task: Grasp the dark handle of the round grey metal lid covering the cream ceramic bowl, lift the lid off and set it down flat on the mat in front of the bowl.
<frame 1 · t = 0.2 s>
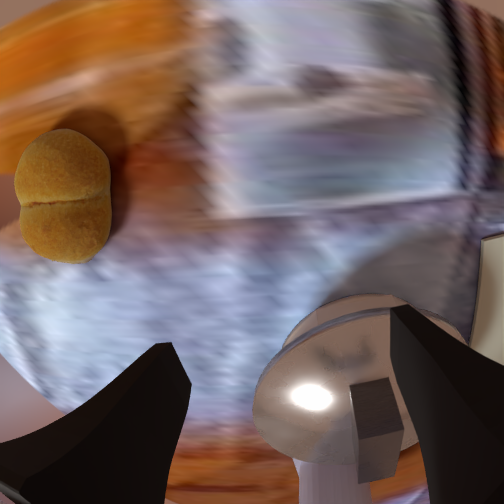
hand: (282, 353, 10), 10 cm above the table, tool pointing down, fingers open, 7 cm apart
bowl: (357, 361, 22), on the table
bread roll: (73, 194, 19), on the table
lid: (366, 400, 18), point 4 cm above the table, touching bowl
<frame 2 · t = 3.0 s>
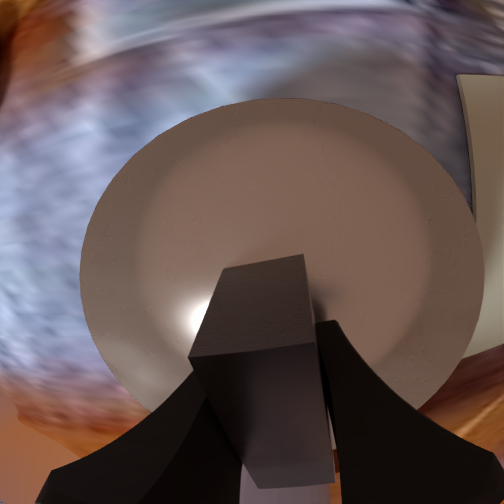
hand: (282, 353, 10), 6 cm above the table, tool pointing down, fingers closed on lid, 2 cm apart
lid: (283, 324, 11), point 4 cm above the table, touching bowl, gripper
when the fingers open (3 cm above the table, at t = 6.8 s): lid stays where it is, resting on mat.
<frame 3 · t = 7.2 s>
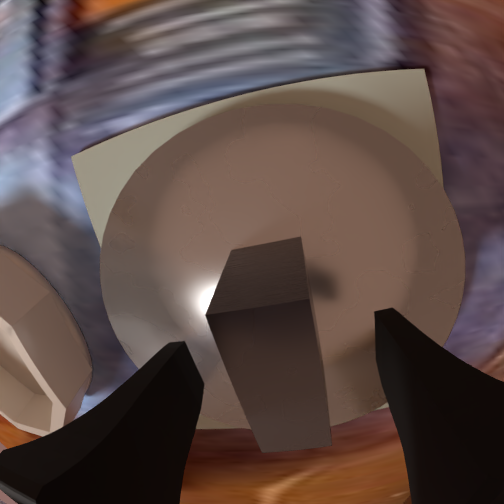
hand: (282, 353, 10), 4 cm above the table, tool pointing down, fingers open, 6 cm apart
bowl: (19, 329, 16), on the table
mat: (283, 298, 13), on the table
lid: (283, 303, 13), resting on mat
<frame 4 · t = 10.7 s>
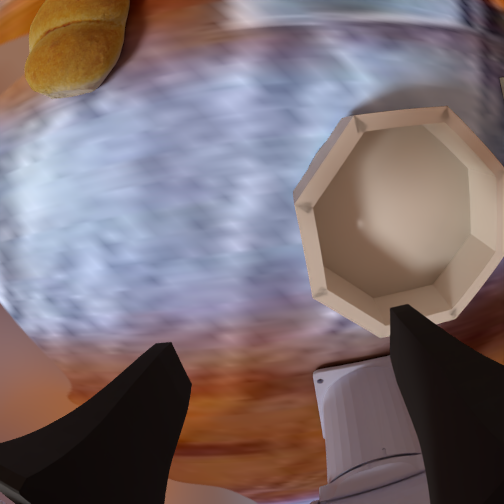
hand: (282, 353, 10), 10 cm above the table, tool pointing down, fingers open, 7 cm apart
bowl: (395, 211, 18), on the table
bread roll: (85, 41, 16), on the table
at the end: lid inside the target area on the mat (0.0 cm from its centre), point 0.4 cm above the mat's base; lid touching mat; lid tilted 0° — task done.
